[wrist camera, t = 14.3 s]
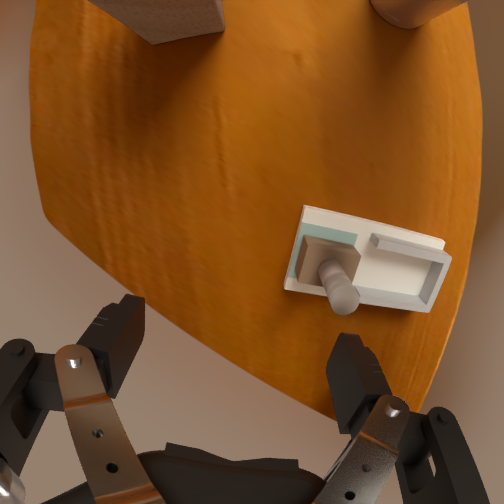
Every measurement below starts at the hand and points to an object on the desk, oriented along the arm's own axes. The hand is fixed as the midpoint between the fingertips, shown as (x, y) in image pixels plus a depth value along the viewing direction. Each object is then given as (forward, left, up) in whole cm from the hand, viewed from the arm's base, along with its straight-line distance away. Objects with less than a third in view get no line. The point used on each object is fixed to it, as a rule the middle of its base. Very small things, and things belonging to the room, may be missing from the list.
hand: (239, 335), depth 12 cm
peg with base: (0, +13, -29) cm, 31 cm away
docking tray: (-4, +20, -30) cm, 36 cm away
